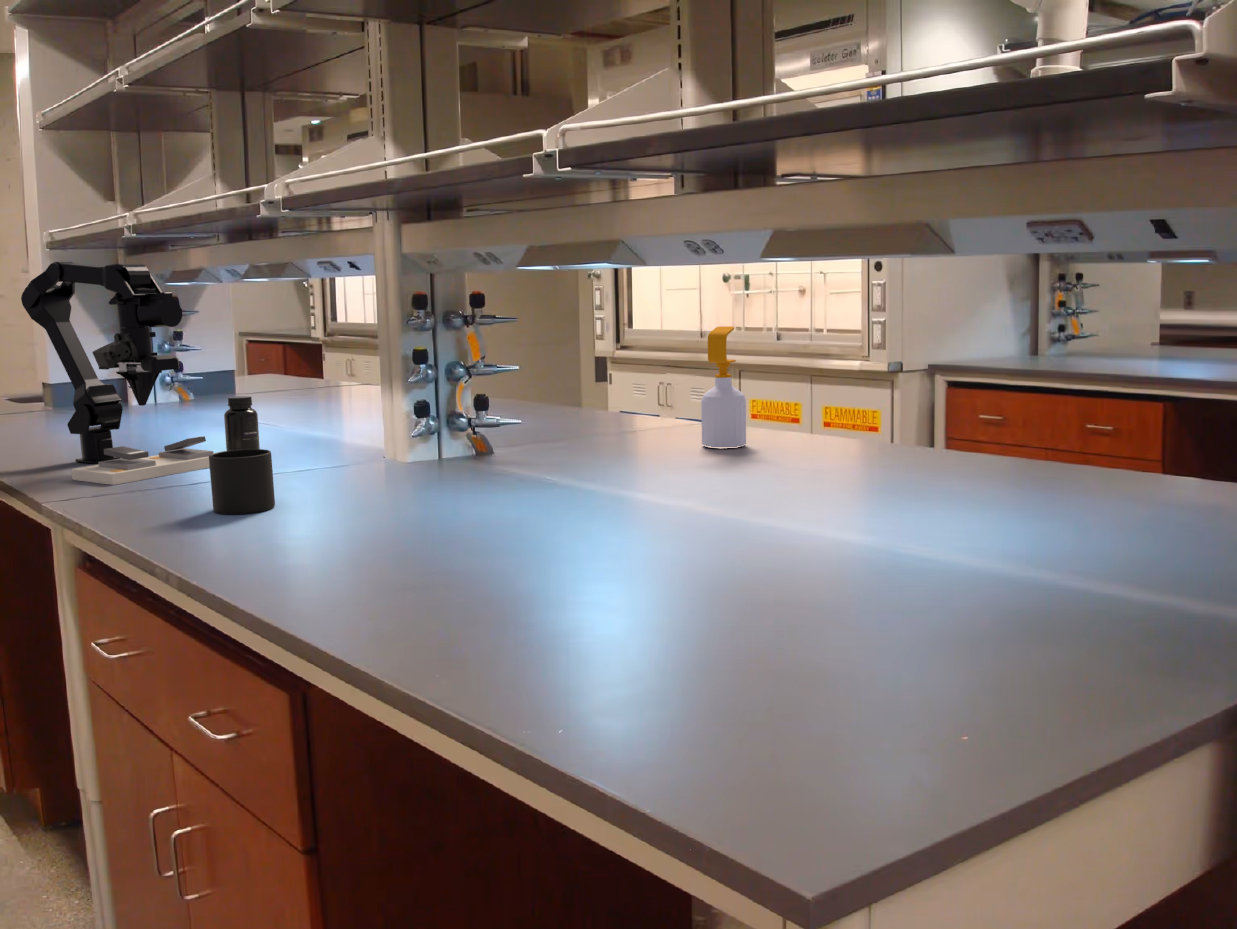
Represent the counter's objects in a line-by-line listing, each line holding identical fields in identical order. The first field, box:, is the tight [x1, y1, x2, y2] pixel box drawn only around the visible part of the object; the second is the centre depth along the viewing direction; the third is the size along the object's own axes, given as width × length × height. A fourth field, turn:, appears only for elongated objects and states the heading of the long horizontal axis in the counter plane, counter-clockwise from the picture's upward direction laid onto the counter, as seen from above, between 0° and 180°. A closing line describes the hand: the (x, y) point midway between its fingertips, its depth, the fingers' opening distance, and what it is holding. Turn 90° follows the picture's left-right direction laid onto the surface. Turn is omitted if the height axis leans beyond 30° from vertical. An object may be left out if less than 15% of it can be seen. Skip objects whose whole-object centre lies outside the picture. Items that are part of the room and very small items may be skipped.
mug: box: [209, 448, 276, 516], centre depth 181 cm, size 9×12×9 cm
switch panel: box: [71, 447, 215, 486], centre depth 220 cm, size 13×25×3 cm, turn 147°
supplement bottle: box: [223, 395, 261, 451], centre depth 241 cm, size 7×7×12 cm
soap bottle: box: [700, 326, 747, 447], centre depth 232 cm, size 9×9×25 cm
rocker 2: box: [163, 436, 207, 451], centre depth 225 cm, size 8×4×1 cm, turn 56°
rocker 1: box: [104, 445, 150, 460], centre depth 215 cm, size 8×4×1 cm, turn 57°
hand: (142, 405), depth 228 cm, fingers closed
